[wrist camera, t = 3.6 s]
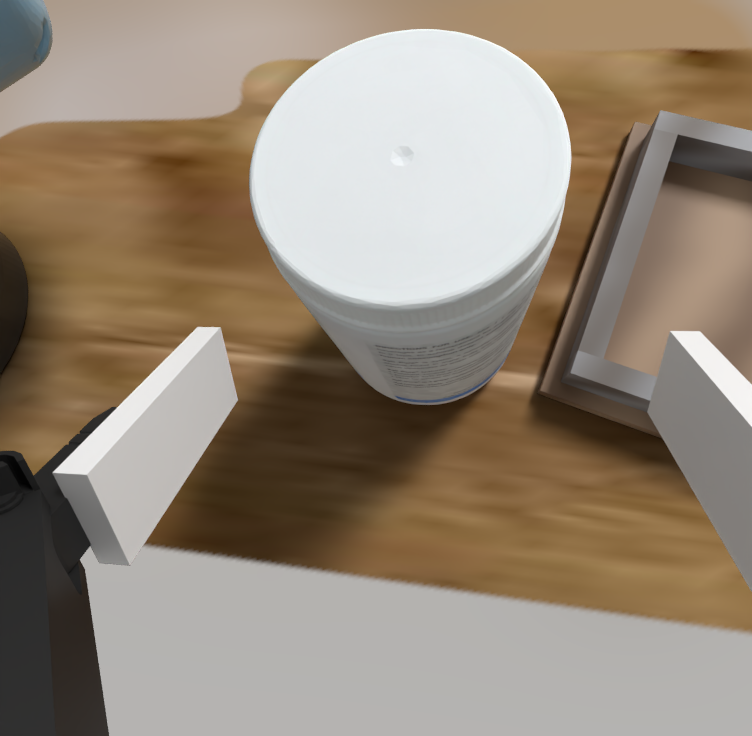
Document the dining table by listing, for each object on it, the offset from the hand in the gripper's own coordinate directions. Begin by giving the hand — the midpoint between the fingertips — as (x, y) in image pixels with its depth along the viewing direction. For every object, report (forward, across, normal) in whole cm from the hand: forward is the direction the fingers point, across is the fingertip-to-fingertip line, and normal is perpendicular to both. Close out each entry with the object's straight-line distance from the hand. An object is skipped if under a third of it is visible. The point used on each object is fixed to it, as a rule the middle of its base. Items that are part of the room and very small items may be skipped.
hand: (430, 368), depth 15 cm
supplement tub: (+13, -1, -5) cm, 13 cm away
